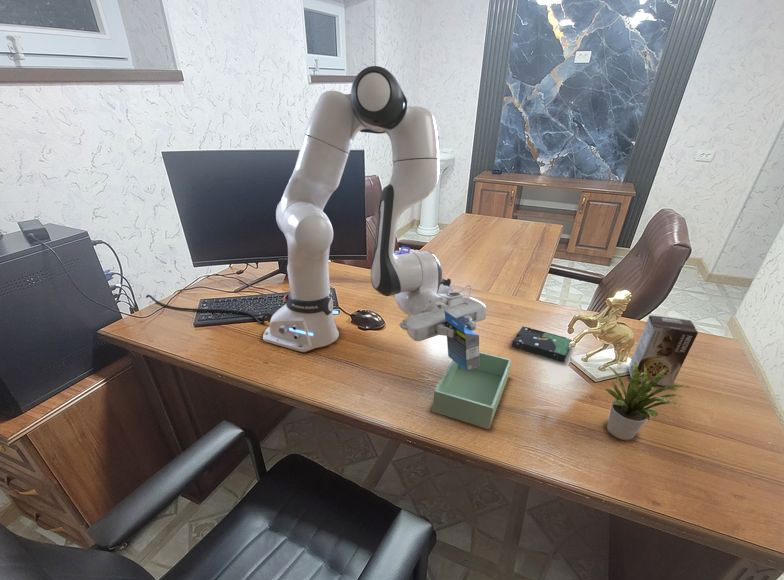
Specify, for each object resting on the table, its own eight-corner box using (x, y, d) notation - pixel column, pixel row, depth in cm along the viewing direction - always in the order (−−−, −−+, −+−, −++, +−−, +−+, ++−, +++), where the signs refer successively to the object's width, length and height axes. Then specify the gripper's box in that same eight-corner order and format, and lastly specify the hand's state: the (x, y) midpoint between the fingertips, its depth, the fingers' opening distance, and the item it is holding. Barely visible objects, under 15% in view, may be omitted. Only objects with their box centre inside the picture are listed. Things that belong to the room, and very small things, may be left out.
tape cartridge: (481, 367, 89) (479, 318, 83) (466, 372, 88) (463, 323, 82) (460, 351, 97) (458, 305, 91) (447, 356, 96) (443, 310, 90)
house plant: (680, 454, 79) (719, 392, 70) (622, 465, 77) (653, 402, 68) (630, 408, 91) (657, 350, 82) (577, 416, 88) (599, 357, 80)
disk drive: (510, 349, 112) (564, 364, 106) (512, 340, 111) (567, 355, 104) (520, 333, 120) (571, 346, 113) (522, 325, 118) (574, 338, 112)
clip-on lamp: (473, 302, 144) (430, 283, 149) (479, 287, 141) (435, 267, 145) (463, 312, 135) (418, 291, 140) (470, 296, 131) (423, 275, 136)
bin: (489, 429, 85) (493, 408, 82) (432, 411, 90) (434, 390, 86) (507, 379, 100) (511, 359, 97) (458, 365, 105) (460, 346, 102)
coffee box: (665, 373, 103) (692, 319, 94) (671, 388, 97) (700, 332, 89) (626, 366, 105) (649, 313, 96) (631, 380, 100) (655, 326, 91)
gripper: (395, 311, 94) (422, 331, 83) (466, 290, 101) (500, 305, 89) (398, 334, 97) (425, 357, 86) (466, 312, 104) (500, 330, 92)
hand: (464, 330), depth 88 cm, fingers closed on tape cartridge, 4 cm apart
